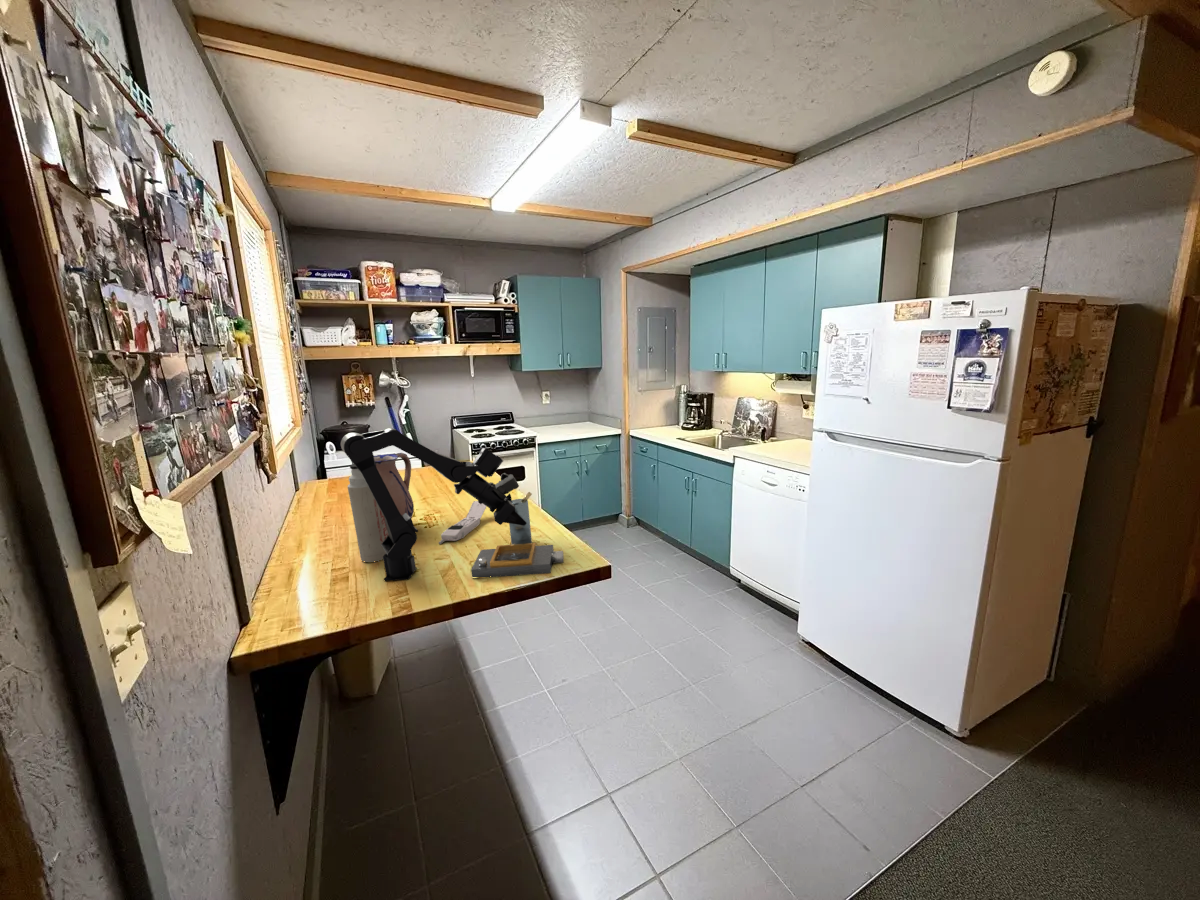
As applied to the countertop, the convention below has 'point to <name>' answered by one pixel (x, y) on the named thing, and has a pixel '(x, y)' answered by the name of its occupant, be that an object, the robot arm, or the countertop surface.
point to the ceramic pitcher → (396, 481)
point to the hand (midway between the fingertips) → (524, 520)
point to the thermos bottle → (366, 518)
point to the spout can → (521, 532)
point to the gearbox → (516, 560)
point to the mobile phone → (464, 523)
